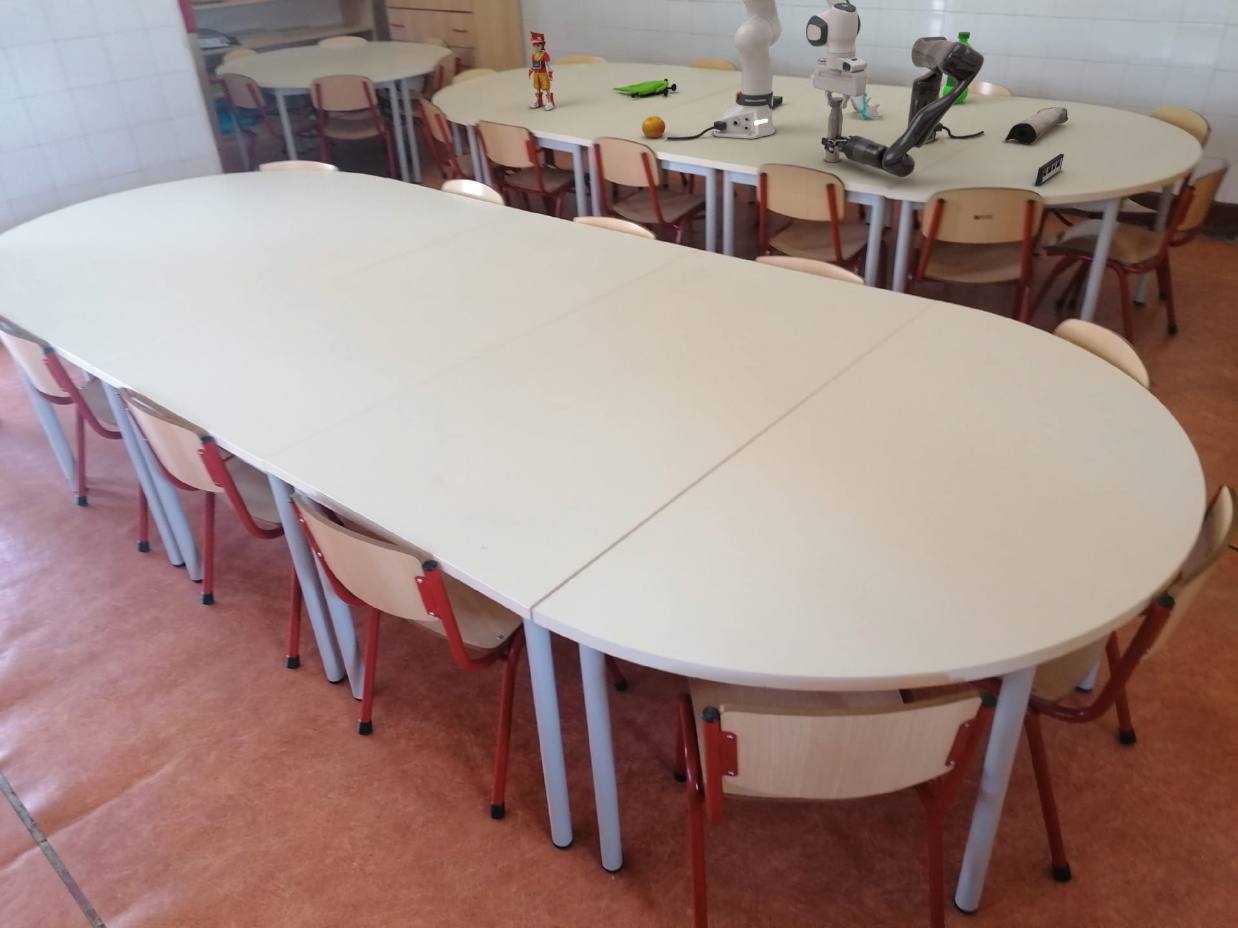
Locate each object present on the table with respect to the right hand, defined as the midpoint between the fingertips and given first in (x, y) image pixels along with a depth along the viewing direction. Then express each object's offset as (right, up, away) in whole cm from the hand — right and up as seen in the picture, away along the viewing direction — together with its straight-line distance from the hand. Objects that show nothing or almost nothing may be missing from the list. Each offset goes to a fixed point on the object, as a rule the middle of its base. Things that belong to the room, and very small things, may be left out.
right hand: (828, 139), depth 299 cm
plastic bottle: (+63, +35, +56) cm, 91 cm away
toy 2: (-61, +56, +98) cm, 128 cm away
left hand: (+1, +8, -8) cm, 11 cm away
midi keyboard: (+62, -21, -25) cm, 70 cm away
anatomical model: (+24, +26, +46) cm, 58 cm away
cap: (+1, +9, -9) cm, 13 cm away
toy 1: (-103, +44, +84) cm, 140 cm away
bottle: (+2, -6, +2) cm, 7 cm away
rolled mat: (+76, +7, +14) cm, 78 cm away
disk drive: (-11, +37, +65) cm, 76 cm away
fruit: (-57, +14, +37) cm, 69 cm away
